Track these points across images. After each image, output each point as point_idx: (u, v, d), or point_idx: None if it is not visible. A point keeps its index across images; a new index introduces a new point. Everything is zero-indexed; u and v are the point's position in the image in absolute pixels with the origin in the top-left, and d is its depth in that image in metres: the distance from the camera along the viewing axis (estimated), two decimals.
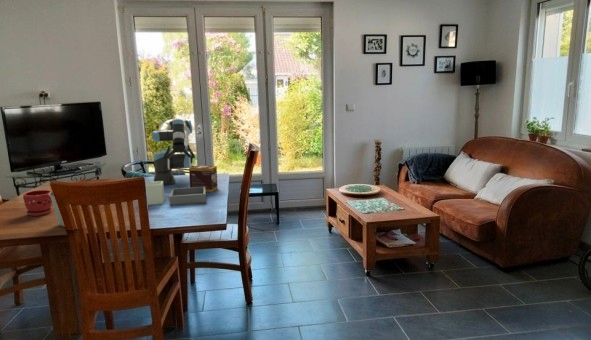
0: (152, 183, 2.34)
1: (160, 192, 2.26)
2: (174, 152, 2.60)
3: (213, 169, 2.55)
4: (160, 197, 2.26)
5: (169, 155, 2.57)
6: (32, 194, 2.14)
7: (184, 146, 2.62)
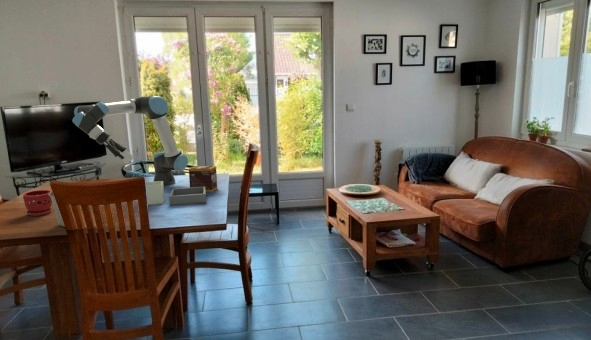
0: (152, 183, 2.34)
1: (160, 192, 2.26)
2: (115, 145, 2.24)
3: (213, 169, 2.55)
4: (160, 197, 2.26)
5: None
6: (32, 194, 2.14)
7: None
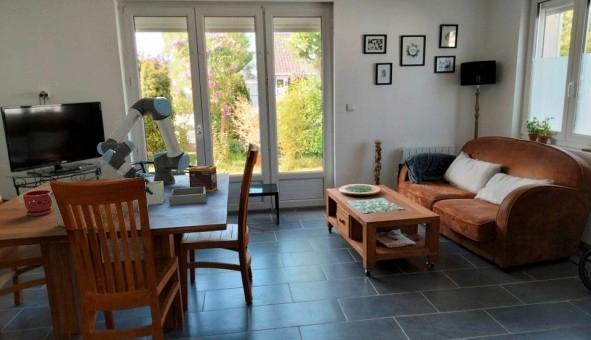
0: (152, 183, 2.34)
1: (160, 192, 2.26)
2: None
3: (213, 169, 2.55)
4: (160, 197, 2.26)
5: None
6: (32, 194, 2.14)
7: None
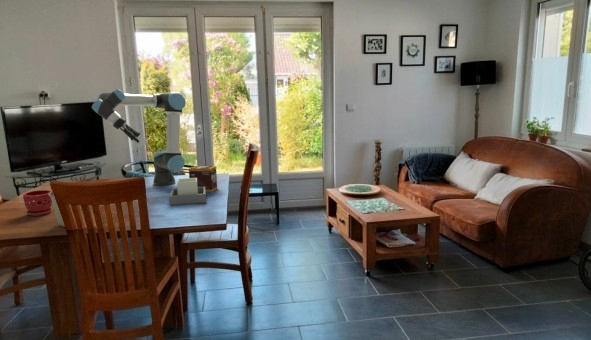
0: (186, 180, 2.37)
1: (195, 189, 2.29)
2: (130, 130, 2.42)
3: (213, 169, 2.55)
4: (195, 193, 2.29)
5: (133, 135, 2.45)
6: (32, 194, 2.14)
7: None
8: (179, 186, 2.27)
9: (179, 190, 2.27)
